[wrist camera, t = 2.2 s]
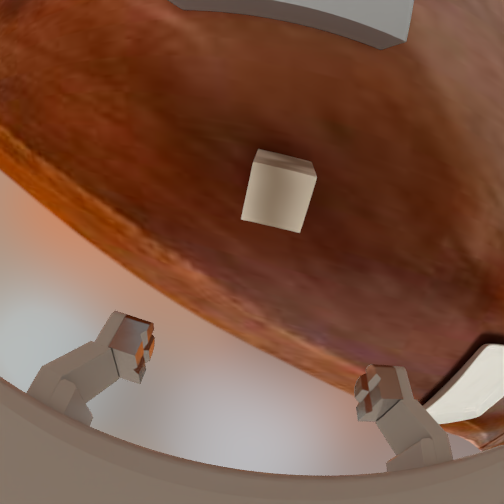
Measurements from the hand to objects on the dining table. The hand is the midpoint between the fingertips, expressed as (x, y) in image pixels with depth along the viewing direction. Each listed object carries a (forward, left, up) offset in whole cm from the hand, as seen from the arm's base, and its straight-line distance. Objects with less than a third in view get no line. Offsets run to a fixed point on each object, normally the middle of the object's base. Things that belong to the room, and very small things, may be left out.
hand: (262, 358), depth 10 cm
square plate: (-52, +27, -21) cm, 62 cm away
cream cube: (0, 0, -20) cm, 20 cm away
